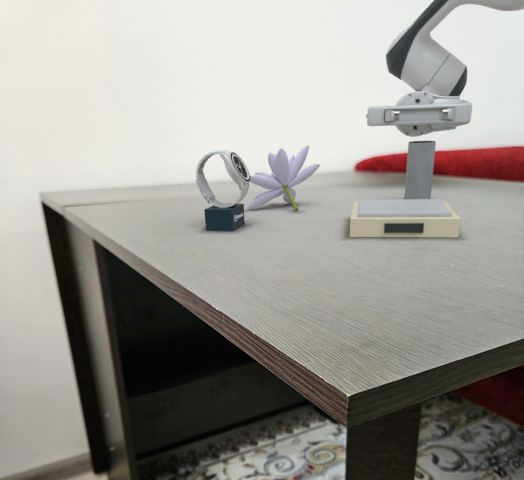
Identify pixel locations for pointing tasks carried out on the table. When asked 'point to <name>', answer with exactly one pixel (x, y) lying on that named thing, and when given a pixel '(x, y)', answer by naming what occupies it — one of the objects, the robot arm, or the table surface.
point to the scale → (404, 219)
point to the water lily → (282, 177)
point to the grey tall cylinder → (419, 169)
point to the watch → (221, 213)
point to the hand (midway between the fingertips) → (420, 115)
